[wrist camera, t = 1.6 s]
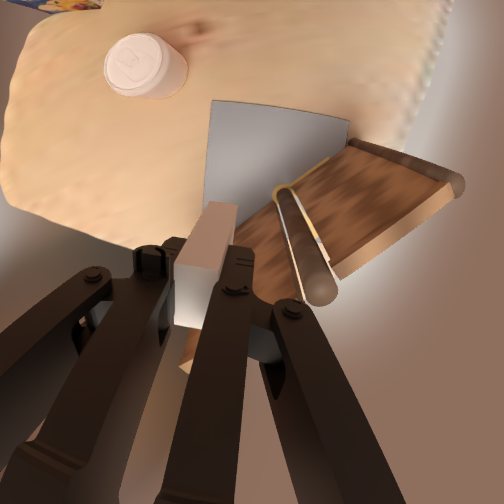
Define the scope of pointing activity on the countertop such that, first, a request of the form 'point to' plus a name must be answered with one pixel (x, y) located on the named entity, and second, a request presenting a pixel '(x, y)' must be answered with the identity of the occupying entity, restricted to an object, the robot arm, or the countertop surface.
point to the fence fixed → (359, 210)
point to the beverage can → (145, 67)
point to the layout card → (265, 154)
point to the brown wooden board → (260, 266)
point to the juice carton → (59, 5)
